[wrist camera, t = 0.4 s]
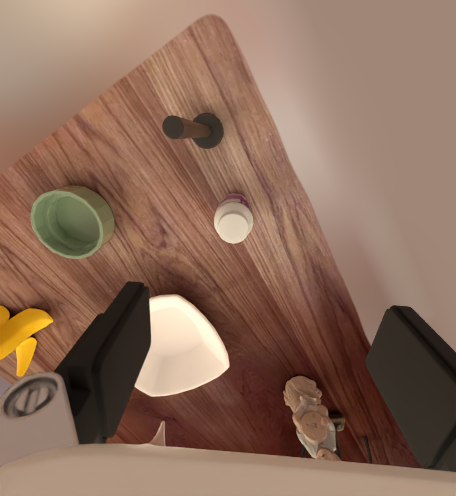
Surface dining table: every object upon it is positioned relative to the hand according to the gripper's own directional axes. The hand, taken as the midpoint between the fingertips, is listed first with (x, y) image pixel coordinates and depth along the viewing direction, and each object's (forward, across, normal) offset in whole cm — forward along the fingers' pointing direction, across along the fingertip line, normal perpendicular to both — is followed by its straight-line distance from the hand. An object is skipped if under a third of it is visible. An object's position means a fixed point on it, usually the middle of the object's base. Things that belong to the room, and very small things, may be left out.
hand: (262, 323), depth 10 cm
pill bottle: (+32, +1, +4) cm, 33 cm away
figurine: (+32, -17, +43) cm, 56 cm away
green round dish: (+32, +26, +8) cm, 42 cm away
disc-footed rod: (+32, +6, -7) cm, 33 cm away
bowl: (+32, +12, +30) cm, 46 cm away
